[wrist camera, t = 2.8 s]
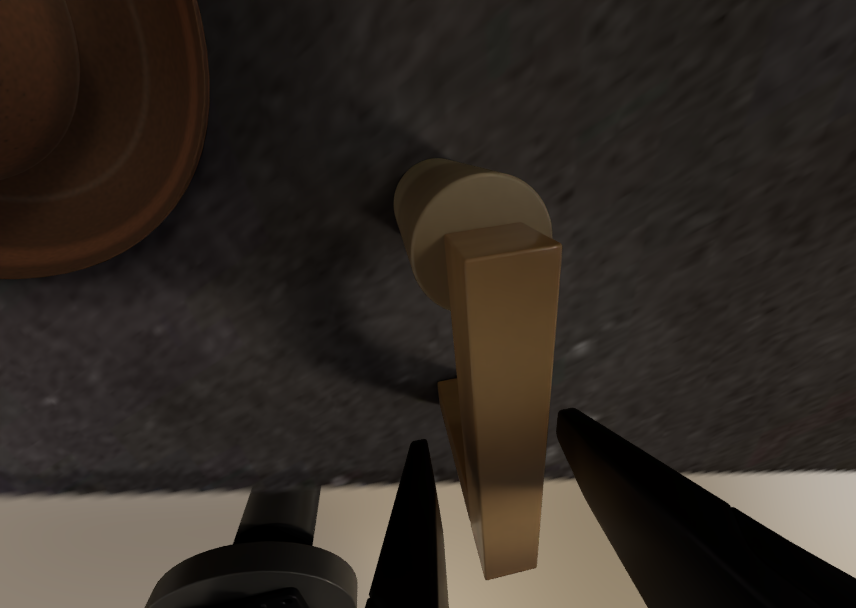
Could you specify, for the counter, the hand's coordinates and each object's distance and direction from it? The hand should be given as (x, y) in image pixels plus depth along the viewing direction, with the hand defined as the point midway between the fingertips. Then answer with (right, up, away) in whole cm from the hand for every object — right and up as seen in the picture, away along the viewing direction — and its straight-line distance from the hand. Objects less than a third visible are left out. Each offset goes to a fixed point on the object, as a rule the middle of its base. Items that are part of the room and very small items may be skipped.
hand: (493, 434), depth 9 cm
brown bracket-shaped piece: (-1, +4, +4) cm, 6 cm away
